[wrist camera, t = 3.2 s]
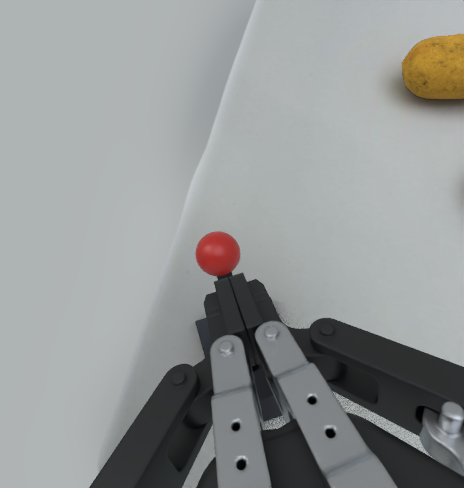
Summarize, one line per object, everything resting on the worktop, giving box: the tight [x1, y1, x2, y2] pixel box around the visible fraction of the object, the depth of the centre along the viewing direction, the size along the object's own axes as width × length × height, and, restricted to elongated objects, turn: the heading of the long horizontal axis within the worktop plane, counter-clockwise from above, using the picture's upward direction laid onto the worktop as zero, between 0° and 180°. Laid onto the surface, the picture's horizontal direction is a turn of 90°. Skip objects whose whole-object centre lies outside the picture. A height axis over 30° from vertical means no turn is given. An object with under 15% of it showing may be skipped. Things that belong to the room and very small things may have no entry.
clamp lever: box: [196, 232, 274, 401], centre depth 24 cm, size 14×3×3 cm, turn 17°
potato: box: [402, 34, 464, 99], centre depth 40 cm, size 7×14×7 cm, turn 86°
